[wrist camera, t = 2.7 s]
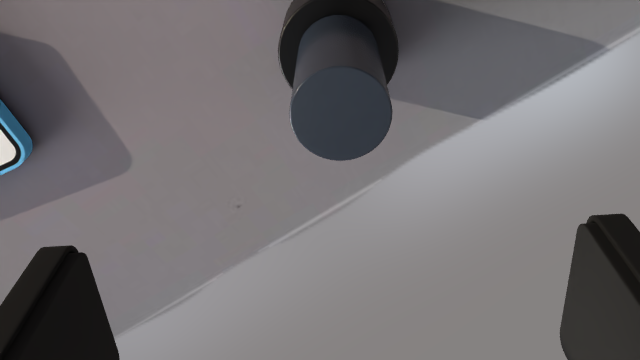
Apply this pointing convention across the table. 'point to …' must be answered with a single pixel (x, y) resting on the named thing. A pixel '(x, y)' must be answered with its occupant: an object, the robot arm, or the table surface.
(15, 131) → the smartphone
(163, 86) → the table surface
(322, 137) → the torch
